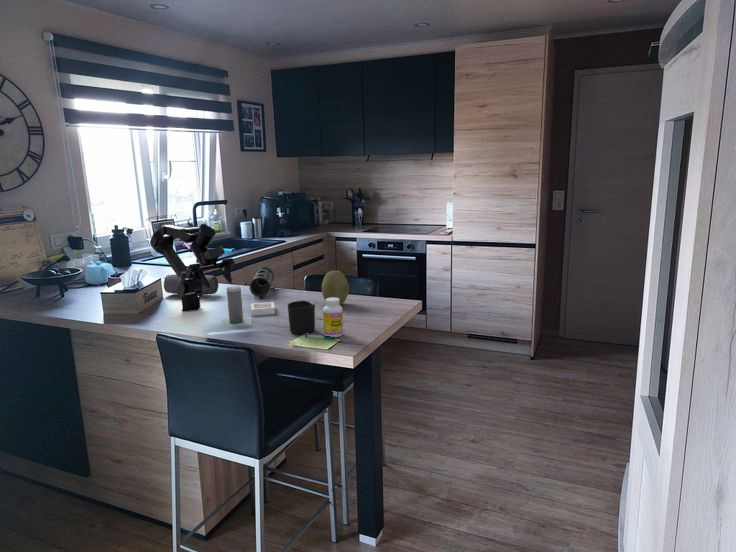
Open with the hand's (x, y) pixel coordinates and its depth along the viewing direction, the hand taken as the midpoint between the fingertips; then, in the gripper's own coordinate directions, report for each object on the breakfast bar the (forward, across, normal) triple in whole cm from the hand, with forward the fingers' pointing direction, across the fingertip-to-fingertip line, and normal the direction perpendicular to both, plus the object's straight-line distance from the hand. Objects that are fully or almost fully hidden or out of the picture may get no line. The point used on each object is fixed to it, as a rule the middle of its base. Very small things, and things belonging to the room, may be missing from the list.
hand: (220, 285), depth 192 cm
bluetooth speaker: (-22, +12, +41) cm, 48 cm away
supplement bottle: (+43, +14, -23) cm, 50 cm away
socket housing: (+14, +14, +5) cm, 21 cm away
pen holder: (+34, +10, -15) cm, 39 cm away
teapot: (-67, -4, +86) cm, 109 cm away
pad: (+16, 0, +3) cm, 16 cm away
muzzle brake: (-7, +37, +27) cm, 46 cm away
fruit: (+23, +42, -4) cm, 48 cm away
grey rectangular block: (+16, 0, +2) cm, 16 cm away
